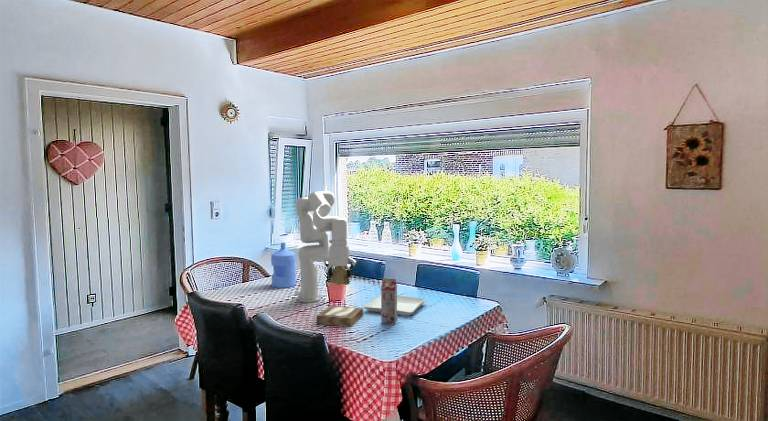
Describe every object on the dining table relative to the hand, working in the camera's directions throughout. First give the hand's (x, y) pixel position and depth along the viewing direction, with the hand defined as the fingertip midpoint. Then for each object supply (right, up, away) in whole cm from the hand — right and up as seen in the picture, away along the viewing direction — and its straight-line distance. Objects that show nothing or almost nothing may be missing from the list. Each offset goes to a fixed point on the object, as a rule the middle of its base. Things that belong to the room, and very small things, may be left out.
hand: (339, 276), depth 239 cm
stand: (0, -22, +2) cm, 22 cm away
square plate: (+29, -21, +22) cm, 41 cm away
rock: (0, -4, +1) cm, 4 cm away
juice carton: (+25, -22, -3) cm, 33 cm away
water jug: (-44, -16, +75) cm, 88 cm away
